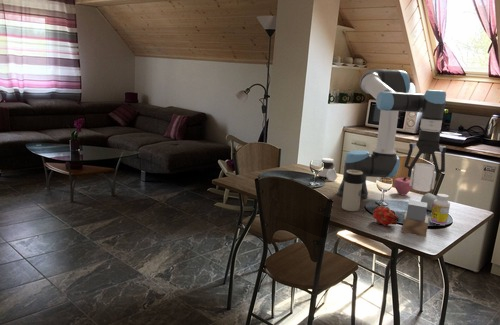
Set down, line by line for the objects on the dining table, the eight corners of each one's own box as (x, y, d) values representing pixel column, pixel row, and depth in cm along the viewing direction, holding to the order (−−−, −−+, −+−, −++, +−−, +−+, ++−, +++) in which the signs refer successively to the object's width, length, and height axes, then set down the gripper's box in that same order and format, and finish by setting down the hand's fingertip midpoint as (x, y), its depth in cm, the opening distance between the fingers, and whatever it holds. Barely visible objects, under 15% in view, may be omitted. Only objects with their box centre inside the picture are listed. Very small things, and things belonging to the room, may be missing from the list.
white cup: (410, 190, 165) (414, 165, 163) (410, 185, 173) (414, 162, 170) (432, 193, 163) (436, 168, 161) (431, 188, 170) (434, 164, 168)
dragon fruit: (370, 222, 183) (395, 235, 175) (364, 215, 177) (389, 228, 169) (381, 206, 184) (405, 218, 176) (375, 198, 178) (400, 210, 170)
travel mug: (338, 208, 195) (342, 170, 191) (347, 205, 200) (351, 168, 196) (353, 213, 189) (357, 174, 185) (362, 209, 195) (366, 172, 191)
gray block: (406, 218, 169) (408, 204, 167) (407, 213, 175) (409, 199, 174) (424, 221, 166) (427, 207, 165) (425, 216, 172) (427, 202, 171)
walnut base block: (402, 232, 169) (404, 218, 168) (402, 225, 178) (404, 212, 176) (425, 237, 166) (428, 223, 165) (425, 229, 174) (427, 216, 173)
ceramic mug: (431, 213, 196) (434, 198, 194) (419, 208, 203) (421, 192, 201) (448, 212, 199) (451, 197, 198) (436, 207, 207) (438, 192, 205)
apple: (414, 195, 224) (417, 177, 222) (404, 197, 219) (407, 179, 217) (399, 191, 231) (401, 173, 229) (389, 192, 227) (391, 175, 224)
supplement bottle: (427, 219, 186) (432, 192, 184) (442, 221, 186) (447, 193, 184) (433, 225, 180) (438, 196, 177) (449, 226, 180) (454, 197, 177)
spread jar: (323, 175, 256) (325, 156, 254) (340, 179, 250) (342, 160, 248) (314, 178, 247) (316, 159, 244) (332, 182, 240) (334, 163, 238)
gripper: (402, 128, 163) (394, 184, 168) (459, 134, 156) (449, 192, 161) (402, 126, 170) (394, 180, 174) (457, 132, 163) (448, 188, 168)
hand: (421, 186), depth 168 cm, fingers closed on white cup, 7 cm apart
